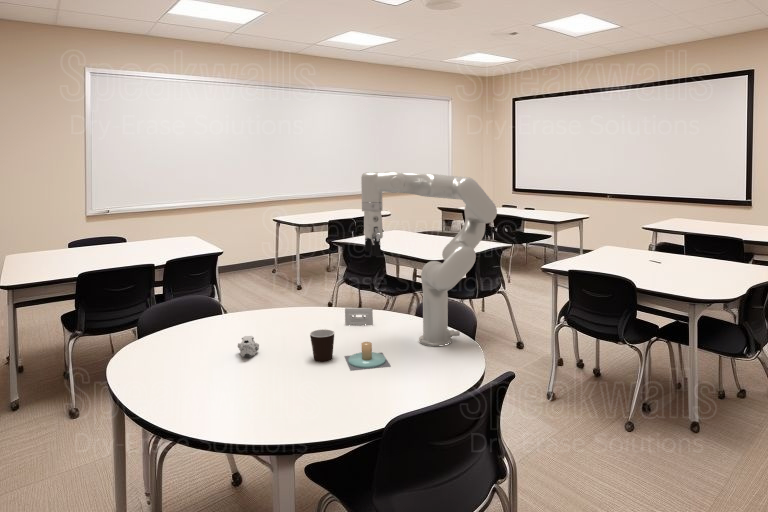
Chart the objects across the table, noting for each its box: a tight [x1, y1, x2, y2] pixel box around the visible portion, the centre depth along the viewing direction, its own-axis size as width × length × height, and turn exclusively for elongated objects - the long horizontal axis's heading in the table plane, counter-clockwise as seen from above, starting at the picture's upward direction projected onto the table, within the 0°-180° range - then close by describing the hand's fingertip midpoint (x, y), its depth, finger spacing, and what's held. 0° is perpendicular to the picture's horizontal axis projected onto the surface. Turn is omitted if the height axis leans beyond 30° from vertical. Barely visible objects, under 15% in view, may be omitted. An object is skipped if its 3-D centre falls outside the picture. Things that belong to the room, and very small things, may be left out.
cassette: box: [344, 307, 374, 327], centre depth 226 cm, size 12×2×8 cm, turn 87°
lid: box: [348, 341, 387, 369], centre depth 183 cm, size 13×13×6 cm
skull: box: [237, 335, 260, 358], centre depth 192 cm, size 8×9×12 cm
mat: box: [344, 352, 392, 372], centre depth 184 cm, size 14×14×1 cm
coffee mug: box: [309, 328, 335, 363], centre depth 187 cm, size 12×9×10 cm
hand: (372, 253), depth 193 cm, fingers open, 9 cm apart
